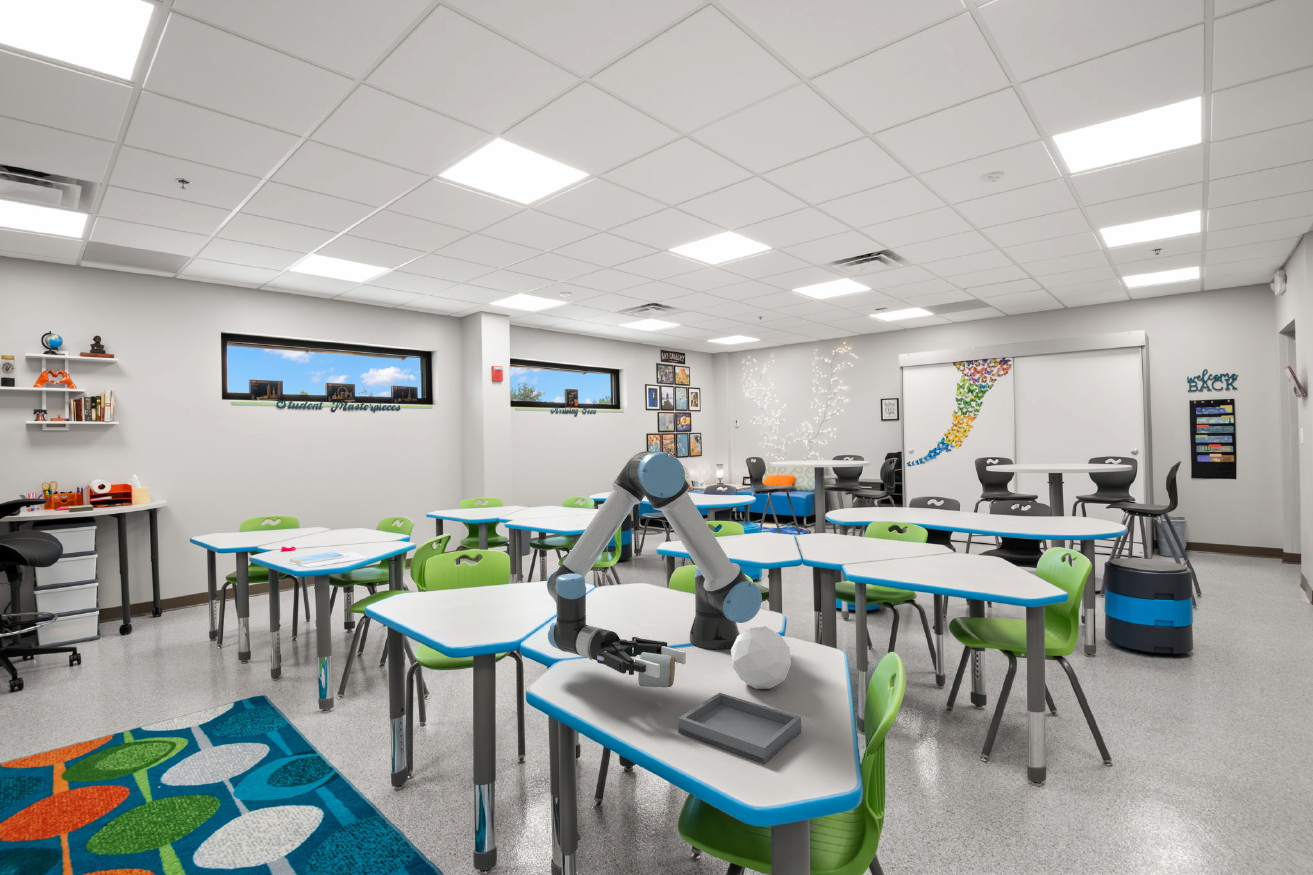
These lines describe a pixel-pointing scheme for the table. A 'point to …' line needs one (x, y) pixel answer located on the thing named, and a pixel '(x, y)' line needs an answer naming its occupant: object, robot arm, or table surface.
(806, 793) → the table surface
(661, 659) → the grey rounded cylinder
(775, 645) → the geometric shape
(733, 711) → the tray
